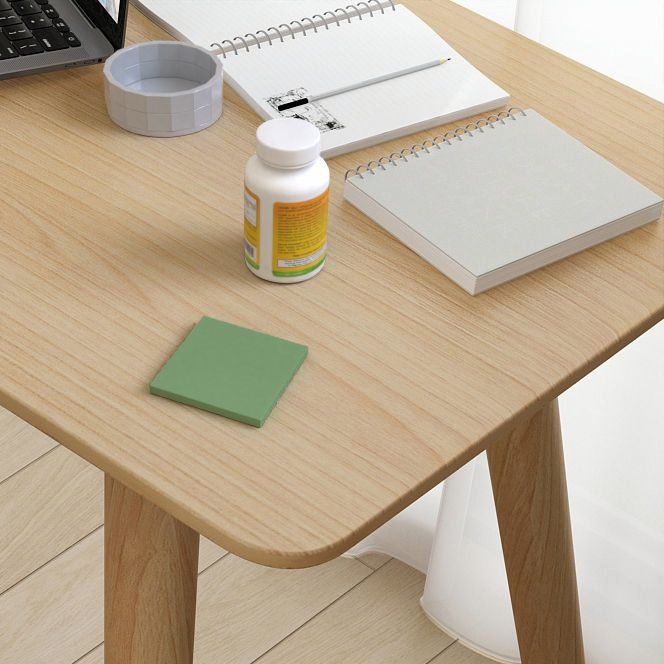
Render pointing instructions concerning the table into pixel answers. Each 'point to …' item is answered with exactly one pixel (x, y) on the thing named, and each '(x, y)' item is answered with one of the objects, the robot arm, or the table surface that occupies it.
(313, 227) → the supplement bottle
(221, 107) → the bowl
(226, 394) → the green flat square slab
